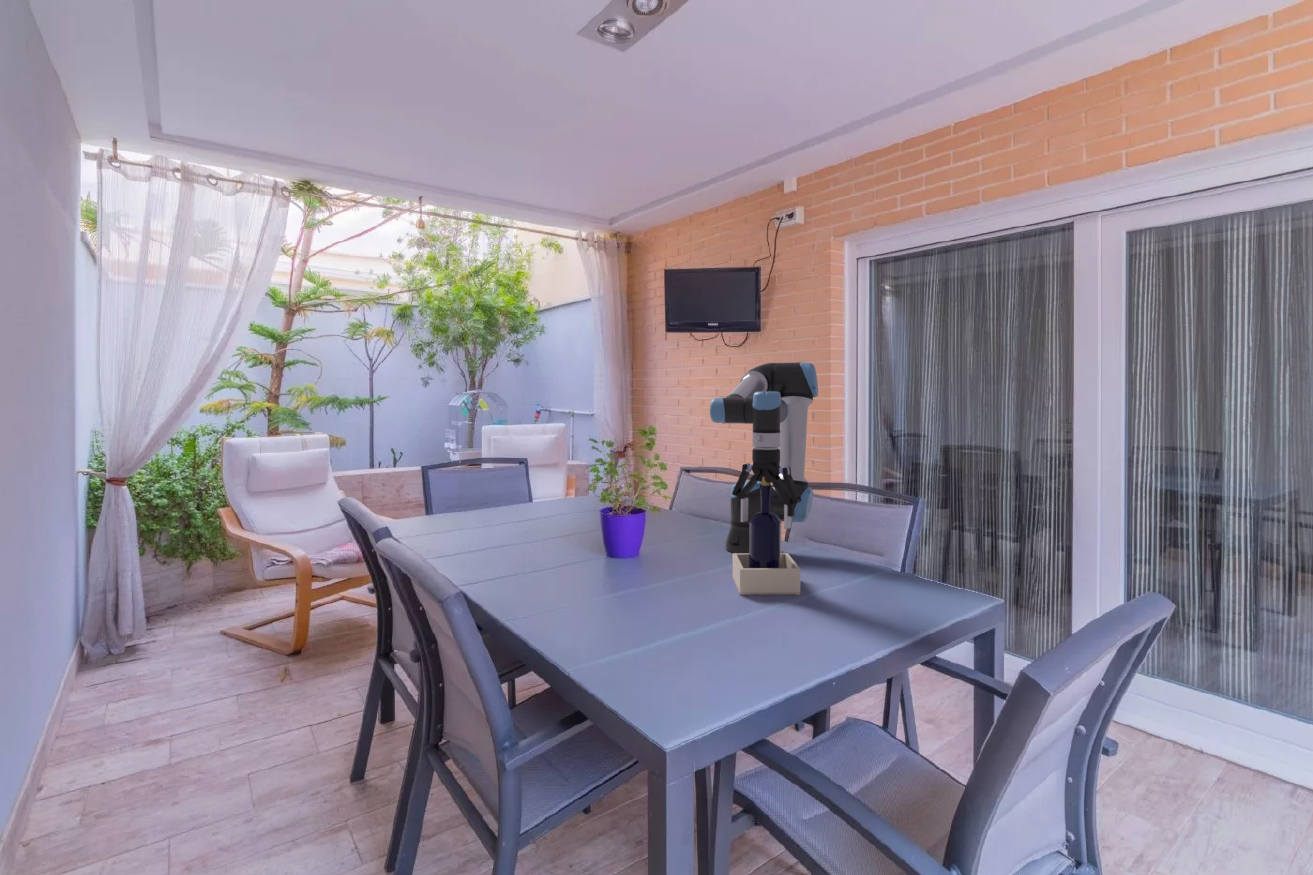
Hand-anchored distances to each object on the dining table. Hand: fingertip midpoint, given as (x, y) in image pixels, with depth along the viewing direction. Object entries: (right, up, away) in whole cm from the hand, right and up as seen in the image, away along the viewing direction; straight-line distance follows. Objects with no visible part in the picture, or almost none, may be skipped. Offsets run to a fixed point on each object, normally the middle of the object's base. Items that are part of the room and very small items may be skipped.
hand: (765, 524), depth 174 cm
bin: (0, -17, +1) cm, 17 cm away
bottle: (0, -17, +1) cm, 17 cm away
